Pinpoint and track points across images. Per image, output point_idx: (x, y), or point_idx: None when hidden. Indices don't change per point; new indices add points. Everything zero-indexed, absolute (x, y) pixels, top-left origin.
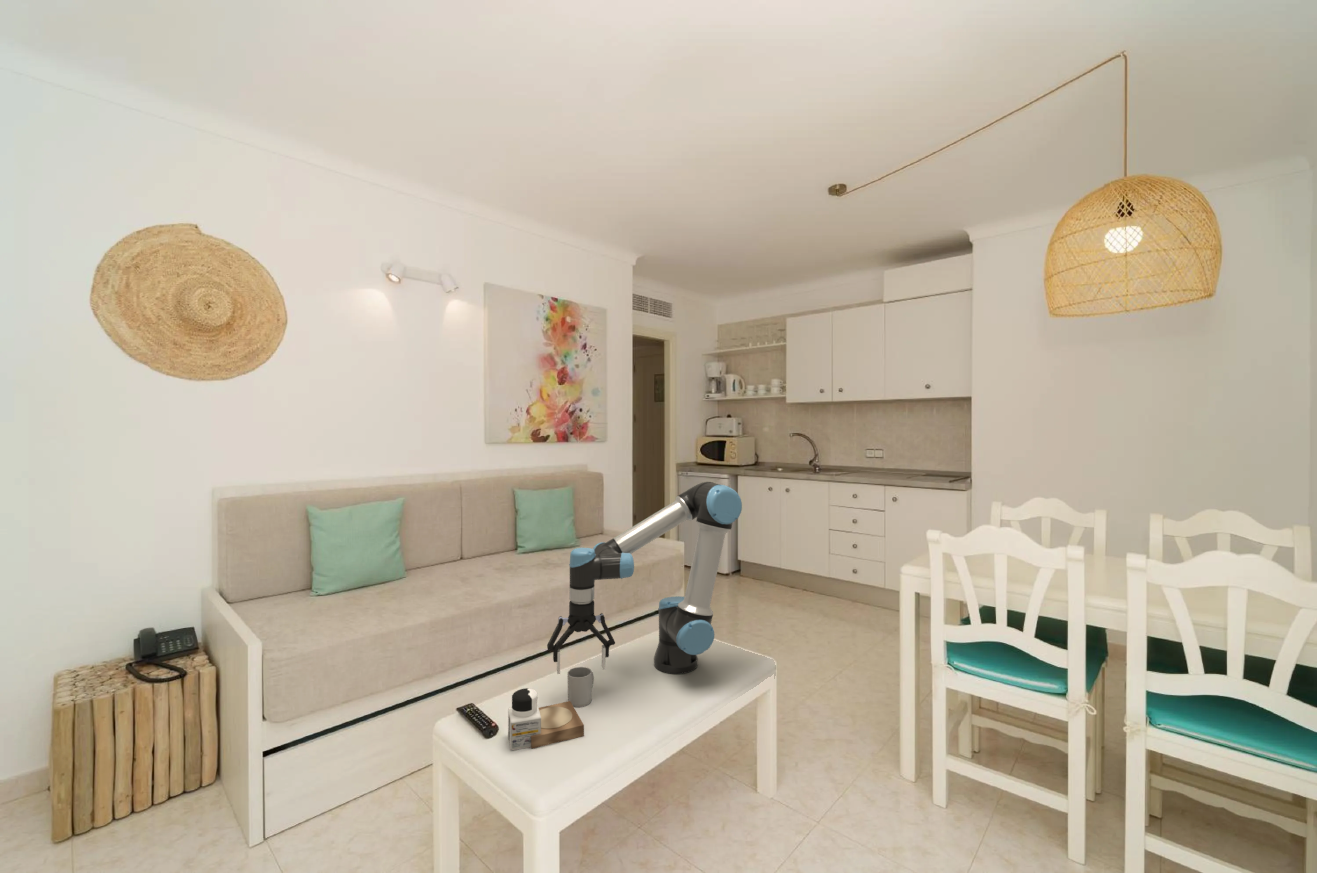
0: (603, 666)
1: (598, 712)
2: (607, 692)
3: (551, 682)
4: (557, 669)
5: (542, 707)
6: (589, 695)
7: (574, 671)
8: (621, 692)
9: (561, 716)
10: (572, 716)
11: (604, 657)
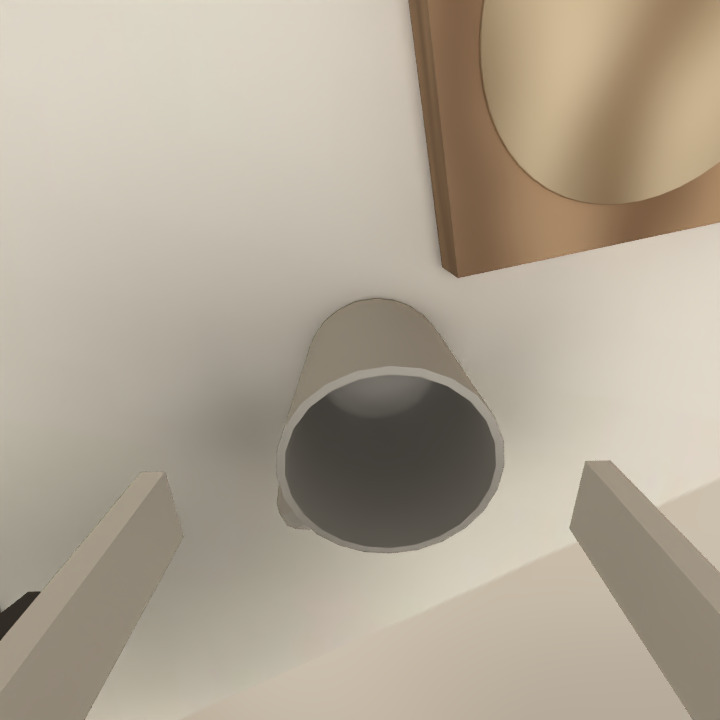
0: (142, 494)
1: (273, 212)
2: (220, 422)
3: (489, 553)
4: (641, 493)
5: (662, 226)
6: (319, 336)
7: (421, 519)
8: (142, 408)
9: (576, 5)
10: (479, 8)
11: (60, 584)
